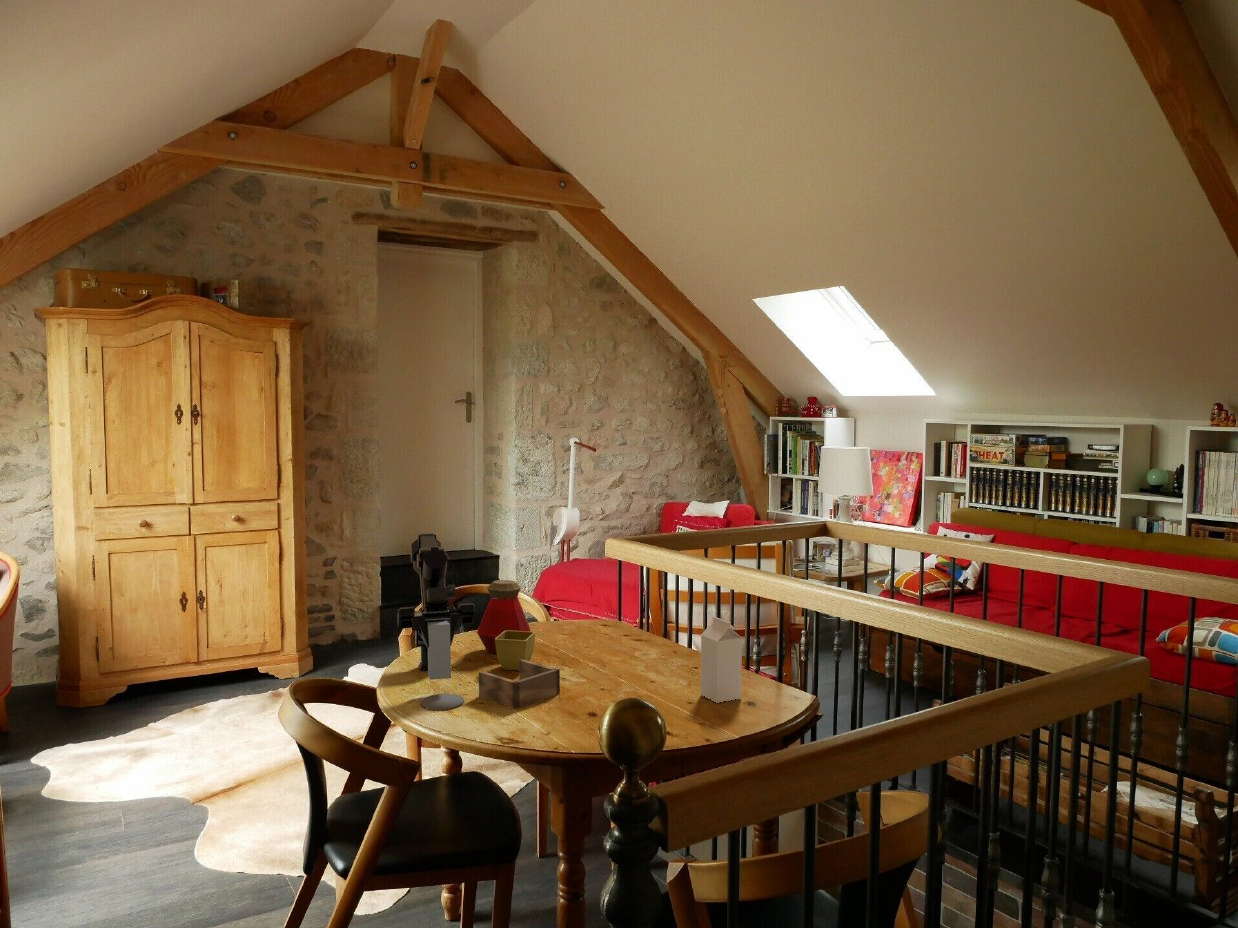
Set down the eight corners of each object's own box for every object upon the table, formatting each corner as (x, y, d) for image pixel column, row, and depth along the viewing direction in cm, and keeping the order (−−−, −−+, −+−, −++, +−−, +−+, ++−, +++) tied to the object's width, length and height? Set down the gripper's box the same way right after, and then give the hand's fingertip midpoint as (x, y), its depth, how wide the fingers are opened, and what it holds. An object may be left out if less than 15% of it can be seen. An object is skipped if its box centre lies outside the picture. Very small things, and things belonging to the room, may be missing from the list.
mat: (421, 697, 217) (421, 694, 217) (463, 694, 219) (463, 692, 219) (420, 711, 207) (420, 708, 207) (464, 708, 209) (464, 706, 209)
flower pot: (526, 673, 236) (526, 640, 236) (494, 671, 238) (494, 638, 237) (535, 664, 245) (535, 631, 244) (505, 662, 246) (504, 630, 246)
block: (428, 675, 221) (427, 622, 221) (448, 673, 222) (447, 620, 222) (429, 679, 216) (428, 625, 216) (451, 677, 218) (449, 623, 218)
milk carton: (716, 703, 213) (717, 624, 212) (700, 695, 219) (701, 618, 218) (741, 699, 216) (742, 621, 215) (724, 690, 222) (725, 615, 221)
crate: (478, 696, 218) (478, 671, 218) (523, 682, 229) (522, 659, 228) (515, 708, 209) (515, 683, 209) (559, 693, 220) (559, 669, 220)
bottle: (469, 655, 253) (468, 585, 251) (486, 643, 266) (486, 576, 264) (522, 659, 249) (522, 587, 248) (537, 646, 262) (537, 578, 261)
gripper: (397, 575, 219) (400, 631, 209) (474, 571, 225) (481, 625, 215) (396, 600, 227) (399, 655, 218) (470, 595, 233) (477, 649, 223)
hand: (439, 645), depth 218 cm, fingers closed on block, 5 cm apart
